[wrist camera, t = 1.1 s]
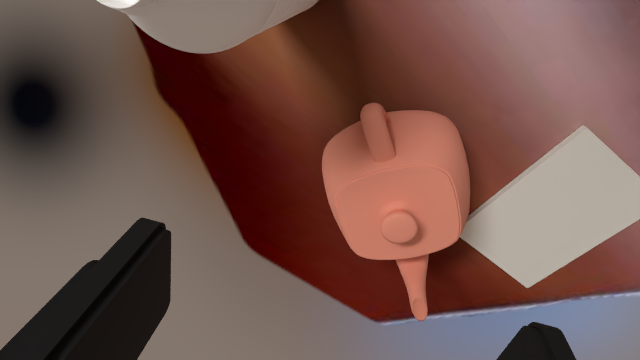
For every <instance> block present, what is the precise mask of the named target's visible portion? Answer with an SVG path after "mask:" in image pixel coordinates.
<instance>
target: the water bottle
mask: <svg viewBox="0 0 640 360" xmlns="http://www.w3.org/2000/svg"><path fill="white" fill-rule="evenodd" d="M97 1H99V2H100V3H101V4H103V5H105V6H108V7H110V8H113V9H116V10H119V11H121V12H123V13H125V14H127V15H128V17H129V18H130V19H131V20H132V21H133V22H134V23H135V24H136V25H138V26H139V27H140V28H141V29H142V30H143V31H144V32H146V33H147V34H148V35H150V36H151V37H153V38H154V39H156V40H158V41H159V42H161V43H163V44H165V45H167V46H170V47H172V48H175V49H178V50H182V51H186V52H191V53H215V52H220V51H224V50H227V49H230V48H232V47H235V46H237V45H239V44H241V43H242V42H244V41H246V40H247V39H249V38H251V37H252V36H254V35H256V34H258V33H260V32H262V31H264V30H266V29H268V28H270V27H273V26H275V25H278V24H280V23H281V22H283V21H285V20H287V19H289V18H291V17H293V16H295V15H297V14H299V13H301V12H303V11H305V10H307V9H309V8H311V7H312V6H313V5H315V4H316V3H317V2H318V1H319V0H97Z"/></svg>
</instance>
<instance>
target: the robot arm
mask: <svg viewBox="0 0 640 360" xmlns="http://www.w3.org/2000/svg"><path fill="white" fill-rule="evenodd" d="M170 274H171V232H170V231H169V230H166V227H165V224H164V223H160V222H157V221H153V220H149V219H146V218H140V219H139V220H137V221H136V222H135V223H134V225H132V226H131V228H130V229H129V230H128V231H127V232H126V233H125V234H124V235H123V236H122V237H121V238H120V239H119V240H118V241H117V242H116V243H115V244H114V245H113V246H112V247H111V248H110V250H109V251H108V252H107V253H106V254H105V255H104V256H103V257H102V258H101V259H100V260H99V261H98V260H93V261H91V262H89V263H87V264H86V265H85V266H84V267H82V268H81V269H80V270H79V272H77V273H76V274H75V275H74V276H73V278H71V279H70V281H68V283H67V284H66V285H65V286H64V287H63V288H62V289H61V290H60V291H59V292H58V293H57V294H56V295H55V296H54V297H53V298H52V299H51V300H50V301H49V302H48V303H47V304H46V305H45V306H44V307H43V308H42V309H41V310H40V311H39V312H38V313H37V314H36V315H35V316H34V317H33V318H32V319H31V320H30V321H29V322H28V323H27V324H26V325H25V326H24V327H23V328H22V329H21V330H20V331H19V332H18V333H17V334H16V335H15V336H14V337H13V338H12V339H11V340H10V341H9V342H8V343H7V344H6V345H5V346H4V347H3V348H2V349H1V350H0V360H137V359H138V357H139V355H140V354H141V352H142V351H143V349H144V347H145V346H146V344H147V342H148V341H149V339H150V338H151V336H152V334H153V333H154V331H155V329H156V328H157V326H158V325H159V323H160V321H161V320H162V318H163V317H164V315H165V313H166V311H167V309H168V307H169V303H170V282H171V275H170ZM497 360H576V358H575V356H574V355H573V352H572V350H571V348H570V346H569V344H568V342H567V341H566V338H565V336H564V335H563V333H562V331H561V330H559V329H558V328H555V327H552V326H548V325H544V324H540V323H537V322H532V323H530V324H529V325H528V326H524V327H522V328H521V329H520V331H519V332H518V333H517V334H516V336H515V337H514V338H513V339H512V341H511V342H510V343H509V344H508V346H507V347H506V348H505V350H504V351H503V352H502V353H501V355H500V356H499V357H498V359H497Z"/></svg>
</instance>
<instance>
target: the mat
mask: <svg viewBox="0 0 640 360" xmlns="http://www.w3.org/2000/svg"><path fill="white" fill-rule="evenodd" d="M639 219H640V176H638V175H637V174H636V173H635V172H634V171H633V170H632V169H631V168H630V167H629V166H628V165H627V164H626V163H624V162H623V161H622V160H621V159H620V158H619V157H618V156H617V155H616V154H615V153H614V152H613V151H612V150H610V149H609V148H608V147H607V146H606V145H605V144H604V143H603V142H602V141H601V140H600V139H599V138H598V137H596V136H595V135H594V134H593V133H592V132H591V131H590V130H589V129H588V128H587V127H585V126H584V125H582V126H581V127H580V128H578V129H577V130H576V131H574V132H573V133H572V134H571V135H569V136H568V137H567V138H566V139H564V140H563V141H562V142H561V143H559V144H558V145H557V146H556V147H554V148H553V149H552V150H550V151H549V152H548V153H547V154H545V155H544V156H543V157H542V158H540V159H539V160H538V161H537V162H535V163H534V164H533V165H532V166H530V167H529V168H528V169H526V170H525V171H524V172H523V173H521V174H520V175H519V176H518V177H516V178H515V179H514V180H513V181H511V182H510V183H509V184H508V185H506V186H505V187H504V188H502V189H501V190H500V191H499V192H497V193H496V194H495V195H494V196H492V197H491V198H490V199H489V200H487V201H486V202H485V203H484V204H482V205H481V206H480V207H478V208H477V209H476V210H475V211H473V212H472V213H471V214H470V215H468V218H467V221H466V224H465V227H464V229H463V232H462V233H461V235H460V238H462V239H463V240H464V241H466V242H467V243H468V244H470V245H471V246H472V247H474V248H475V249H476V250H477V251H479V252H480V253H481V254H483V255H484V256H485V257H487V258H488V259H489V260H491V261H492V262H493V263H495V264H496V265H497V266H499V267H500V268H501V269H503V270H504V271H505V272H506V273H508V274H509V275H510V276H512V277H513V278H514V279H516V280H517V281H518V282H520V283H521V284H522V285H524V286H525V287H526V288H529V287H530V286H532V285H534V284H535V283H537V282H539V281H540V280H542V279H543V278H545V277H547V276H548V275H550V274H552V273H553V272H555V271H556V270H558V269H560V268H561V267H563V266H565V265H566V264H568V263H569V262H571V261H573V260H574V259H576V258H577V257H579V256H581V255H582V254H584V253H586V252H587V251H589V250H590V249H592V248H594V247H595V246H597V245H599V244H600V243H602V242H603V241H605V240H607V239H608V238H610V237H611V236H613V235H615V234H616V233H618V232H620V231H621V230H623V229H624V228H626V227H628V226H629V225H631V224H633V223H634V222H636V221H637V220H639Z"/></svg>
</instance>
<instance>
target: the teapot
mask: <svg viewBox="0 0 640 360" xmlns="http://www.w3.org/2000/svg"><path fill="white" fill-rule="evenodd" d="M360 119H361V121H358V122H356V123H354V124H352V125H350V126H349V127H347V128H345V129H343V130H342V131H340V132H339V133H338V134H336V135H335V136H334V137H333V138H332V139H331V140H330V141H329V142H328V144H327V145H326V147H325V150H324V153H323V158H322V173H323V179H324V185H325V189H326V194H327V198H328V201H329V204H330V208H331V210H332V213H333V215H334V217H335V220H336V222H337V224H338V226H339V228H340V230H341V232H342V233H343V235H344V237H345V239H346V241H347V242H348V244H349V246H350V247H351V249H352V250H353V251H354V252H355V253H356V254H357V255H359V256H361V257H364V258H368V259H375V260H394V259H395V260H396V262H397V265H398V267H399V269H400V272H401V274H402V277H403V279H404V282H405V285H406V288H407V291H408V295H409V300H410V305H411V309H412V312H413V314H414V316H415V318H416V319H417V320H419V321H424V320H425V319H426V317H427V300H426V289H425V288H426V273H427V266H428V257H429V254H430V253H433V252H436V251H439V250H442V249H444V248H447V247H449V246H450V245H452V244H454V243H455V242H456V241H457V240H458V238H459V237H460V235H461V233H462V232H463V229H464V227H465V224H466V221H467V218H468V214H469V209H470V177H469V168H468V163H467V158H466V153H465V150H464V147H463V143H462V141H461V138H460V135H459V132H458V130H457V128H456V127H455V125H454V124H453V122H452V121H451V120H449V119H448V118H447V117H445V116H443V115H442V114H439V113H435V112H432V111H424V110H401V111H392V112H387V113H386V111H385V109H384V108H383V107H382V105H380V104H378V103H369V104H367V105H365V106H364V107H363V108H362V109H361V112H360Z"/></svg>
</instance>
